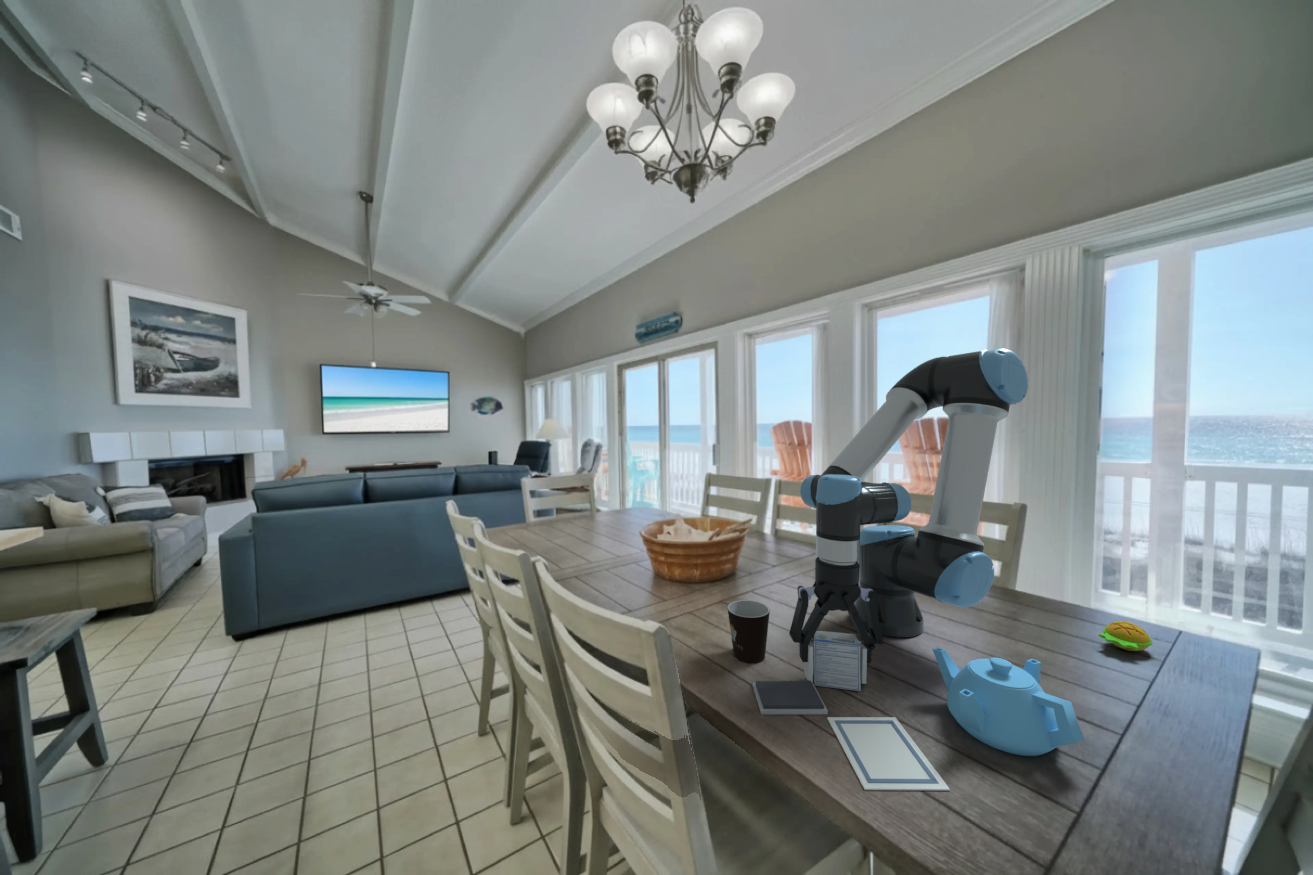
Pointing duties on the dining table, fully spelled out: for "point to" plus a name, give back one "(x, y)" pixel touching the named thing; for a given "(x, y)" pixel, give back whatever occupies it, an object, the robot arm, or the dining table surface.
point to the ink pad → (788, 697)
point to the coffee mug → (749, 630)
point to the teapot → (1007, 705)
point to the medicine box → (836, 660)
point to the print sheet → (885, 754)
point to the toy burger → (1126, 636)
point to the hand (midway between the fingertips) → (834, 678)
